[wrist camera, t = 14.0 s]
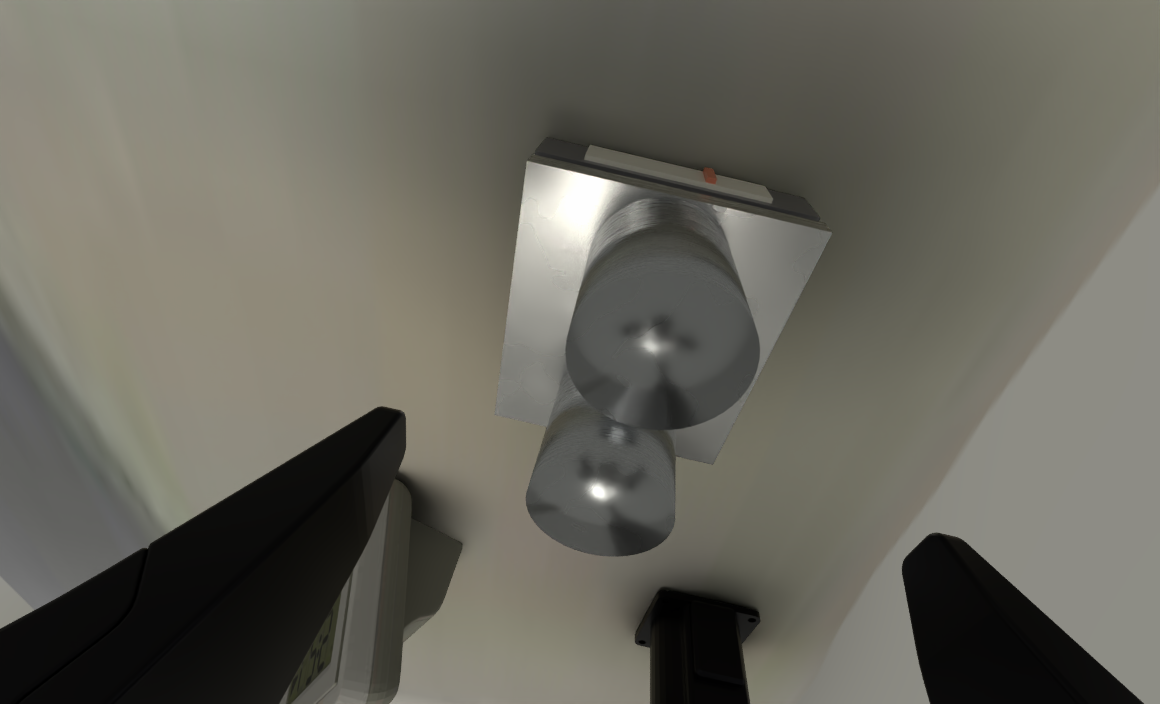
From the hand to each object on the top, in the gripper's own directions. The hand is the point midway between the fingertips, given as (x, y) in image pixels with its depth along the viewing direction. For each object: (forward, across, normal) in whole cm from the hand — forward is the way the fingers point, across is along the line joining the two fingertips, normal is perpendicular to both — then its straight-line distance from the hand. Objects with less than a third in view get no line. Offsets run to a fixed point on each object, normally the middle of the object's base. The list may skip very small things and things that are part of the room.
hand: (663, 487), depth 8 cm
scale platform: (+9, 0, +3) cm, 10 cm away
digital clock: (+12, +12, +25) cm, 30 cm away
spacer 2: (+9, 0, +6) cm, 10 cm away
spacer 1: (+9, 0, 0) cm, 9 cm away
